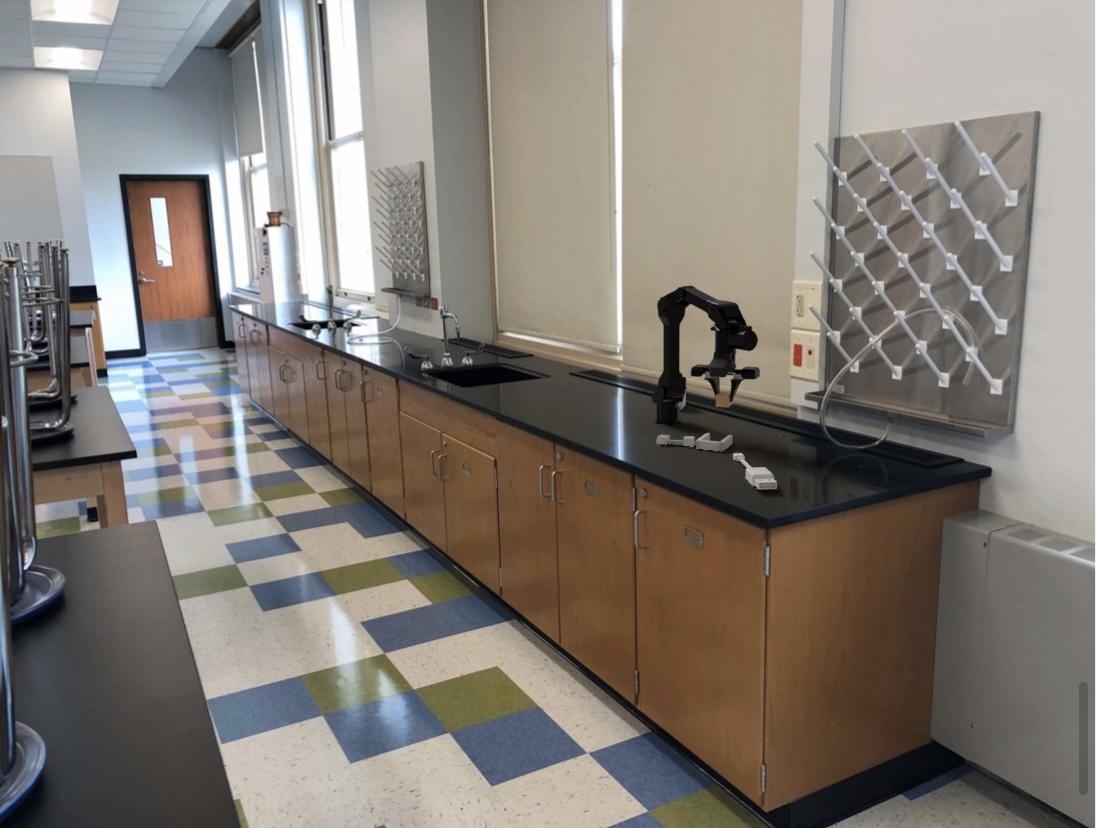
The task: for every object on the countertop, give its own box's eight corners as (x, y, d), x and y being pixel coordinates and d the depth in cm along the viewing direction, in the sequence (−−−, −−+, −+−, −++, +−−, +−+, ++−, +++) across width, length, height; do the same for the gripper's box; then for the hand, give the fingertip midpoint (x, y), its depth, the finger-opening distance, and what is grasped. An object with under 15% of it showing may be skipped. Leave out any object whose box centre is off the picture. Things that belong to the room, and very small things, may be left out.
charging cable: (745, 460, 229) (745, 448, 228) (778, 492, 197) (778, 478, 196) (726, 461, 229) (727, 449, 228) (756, 493, 197) (756, 479, 196)
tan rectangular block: (715, 406, 244) (715, 394, 243) (721, 402, 249) (721, 390, 249) (728, 407, 243) (728, 395, 242) (733, 403, 248) (733, 391, 247)
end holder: (695, 449, 237) (695, 440, 237) (706, 441, 246) (706, 433, 245) (722, 451, 234) (722, 442, 233) (732, 443, 242) (732, 435, 242)
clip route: (654, 444, 243) (654, 436, 243) (660, 441, 247) (660, 433, 247) (695, 448, 238) (695, 440, 237) (701, 445, 242) (701, 436, 241)
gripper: (684, 350, 240) (684, 404, 243) (750, 352, 231) (749, 409, 235) (697, 345, 250) (696, 397, 253) (760, 347, 241) (759, 401, 244)
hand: (724, 401), depth 246 cm, fingers closed on tan rectangular block, 4 cm apart
